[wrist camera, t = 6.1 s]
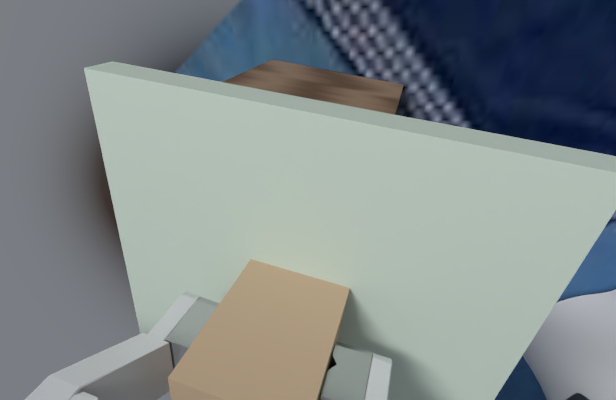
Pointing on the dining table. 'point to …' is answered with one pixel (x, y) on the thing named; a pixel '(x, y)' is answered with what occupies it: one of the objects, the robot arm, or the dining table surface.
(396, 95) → the box
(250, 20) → the dining table surface
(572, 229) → the lid
